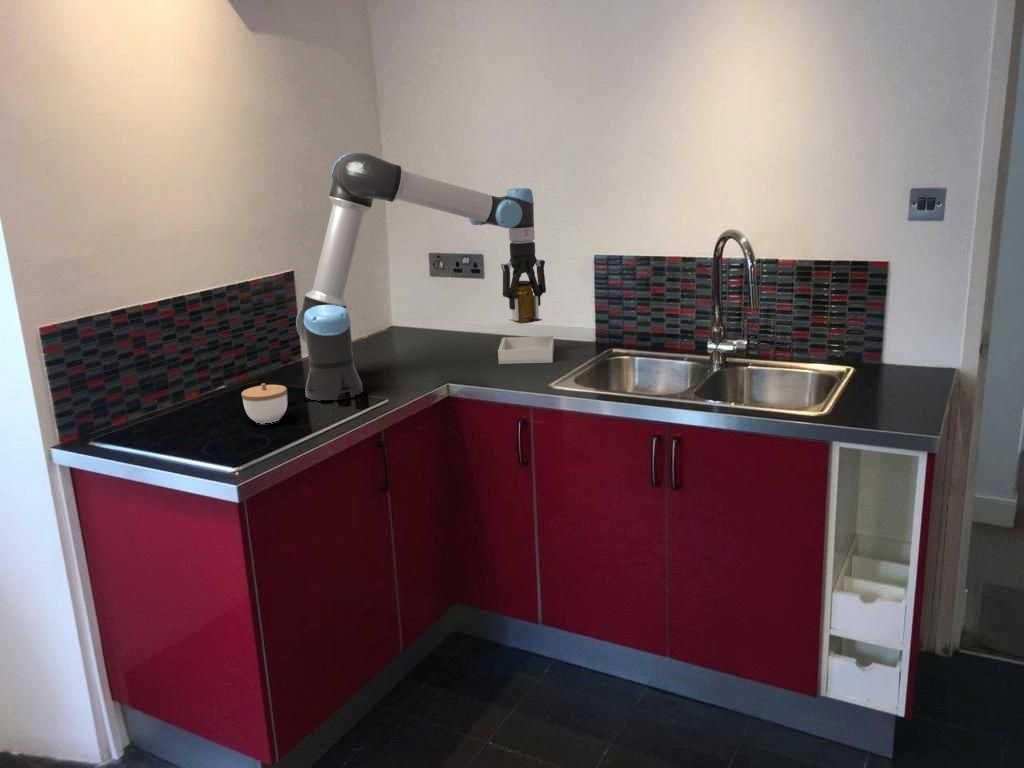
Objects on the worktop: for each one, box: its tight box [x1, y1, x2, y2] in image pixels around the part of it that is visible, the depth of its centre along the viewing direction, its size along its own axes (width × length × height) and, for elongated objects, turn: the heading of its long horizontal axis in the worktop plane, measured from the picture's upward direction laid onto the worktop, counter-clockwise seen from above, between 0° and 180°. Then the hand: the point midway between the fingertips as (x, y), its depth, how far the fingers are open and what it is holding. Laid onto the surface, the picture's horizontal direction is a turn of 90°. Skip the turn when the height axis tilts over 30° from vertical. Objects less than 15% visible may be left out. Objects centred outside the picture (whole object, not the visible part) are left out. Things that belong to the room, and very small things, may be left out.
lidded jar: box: [241, 382, 288, 425], centre depth 219 cm, size 11×11×9 cm
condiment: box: [508, 280, 543, 325], centre depth 270 cm, size 7×8×12 cm
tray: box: [497, 335, 555, 365], centre depth 272 cm, size 16×18×4 cm
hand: (525, 318), depth 270 cm, fingers closed on condiment, 6 cm apart
